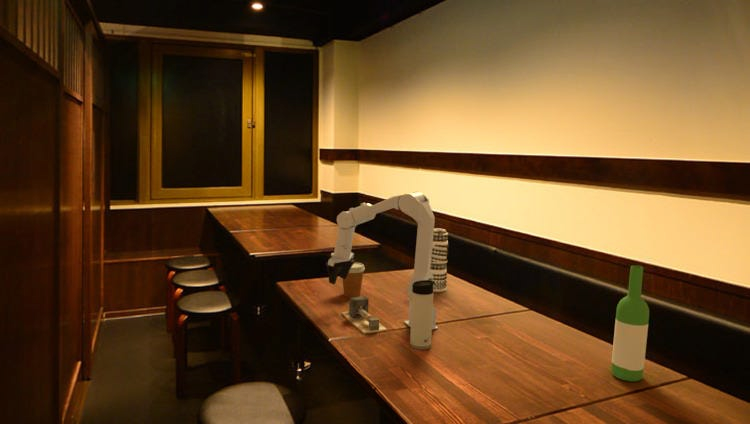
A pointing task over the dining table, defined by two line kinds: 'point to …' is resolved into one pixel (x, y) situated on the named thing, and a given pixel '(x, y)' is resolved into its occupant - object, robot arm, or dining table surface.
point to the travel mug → (421, 314)
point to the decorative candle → (439, 259)
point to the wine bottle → (631, 331)
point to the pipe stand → (364, 321)
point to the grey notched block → (358, 305)
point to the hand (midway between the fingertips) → (337, 280)
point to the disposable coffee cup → (353, 280)
